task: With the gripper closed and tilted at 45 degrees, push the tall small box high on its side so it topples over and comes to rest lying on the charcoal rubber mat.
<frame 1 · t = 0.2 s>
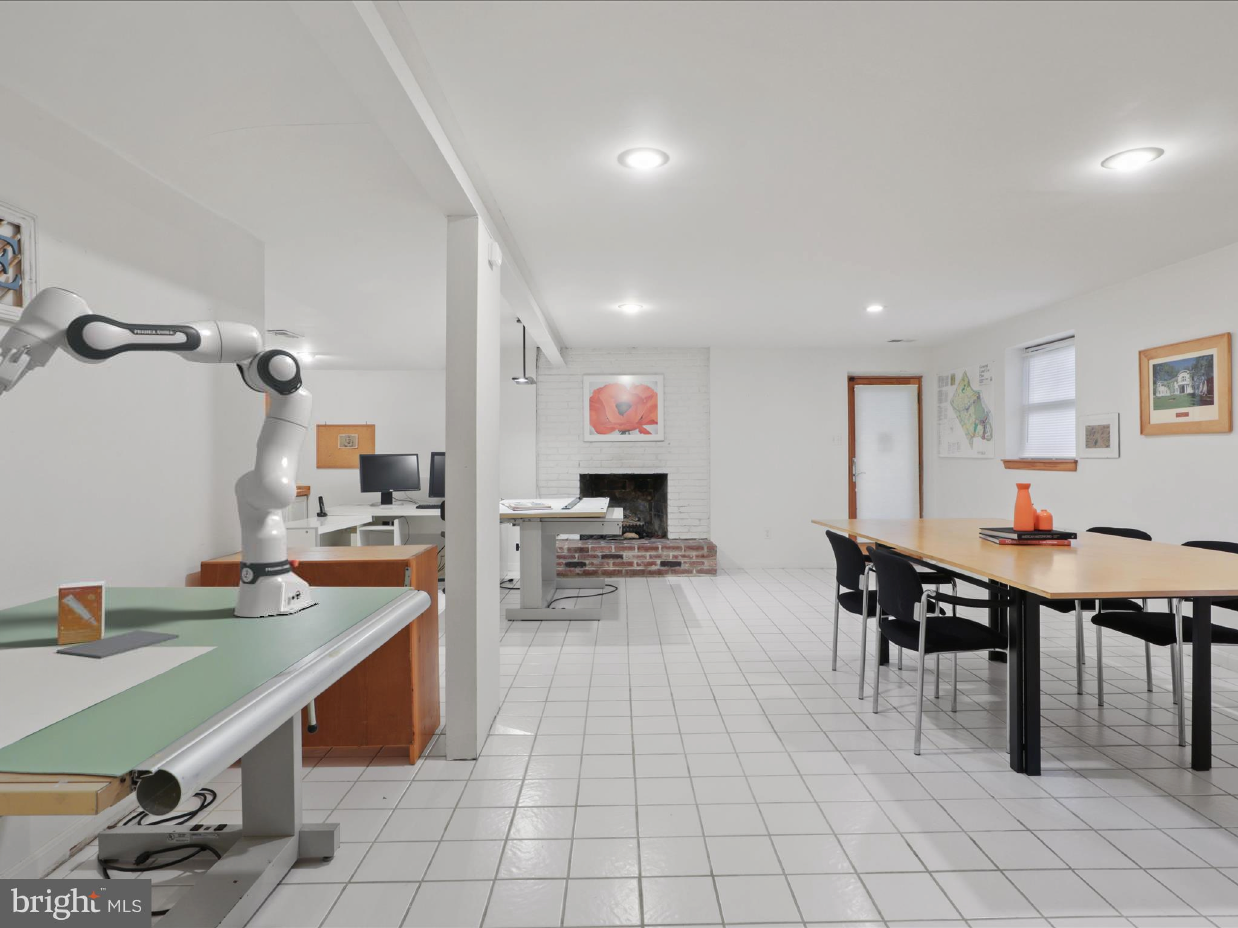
small box: (81, 640, 156), on the table
mat: (120, 644, 153), on the table
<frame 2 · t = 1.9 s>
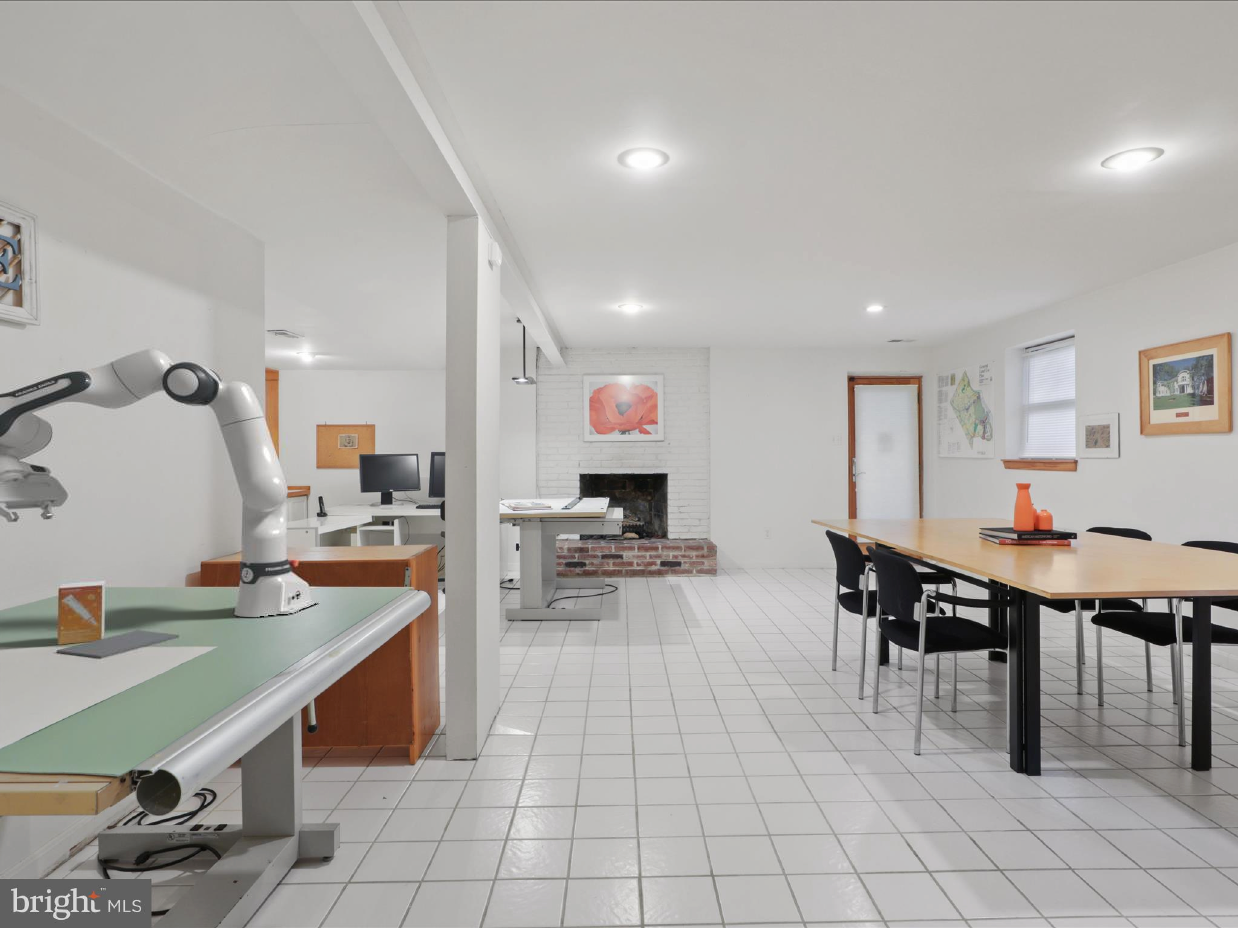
hand: (32, 518, 161), 27 cm above the table, tool tilted 45°, fingers open, 6 cm apart
nothing on the table moved.
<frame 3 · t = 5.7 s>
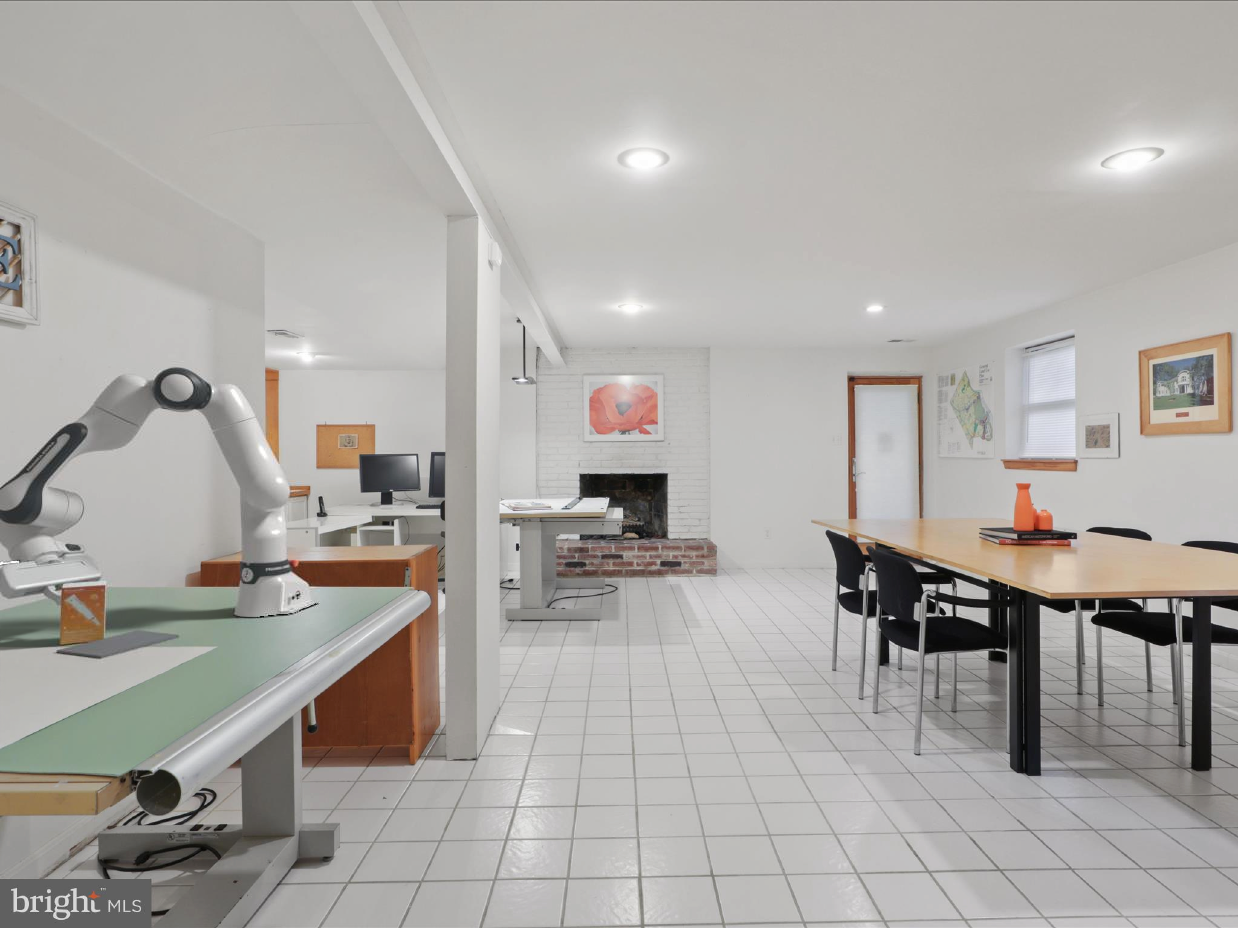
hand: (67, 602, 157), 8 cm above the table, tool tilted 45°, fingers closed
small box: (83, 640, 156), on the table, touching gripper
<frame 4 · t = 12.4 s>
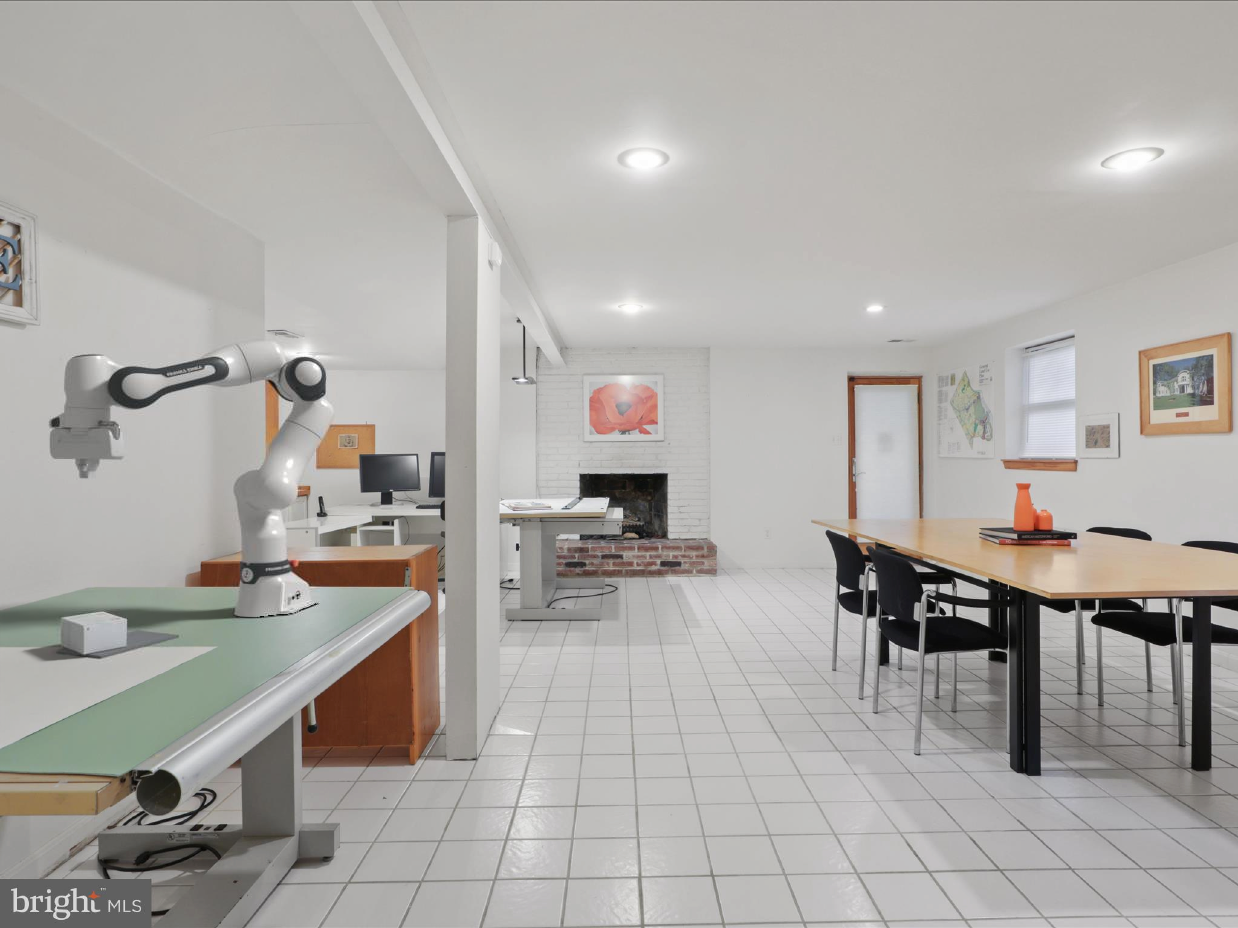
hand: (87, 478, 164), 37 cm above the table, tool pointing down, fingers closed
small box: (82, 627, 153), point 4 cm above the table, touching mat
at the end: small box tilted 89°; small box touching mat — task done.
